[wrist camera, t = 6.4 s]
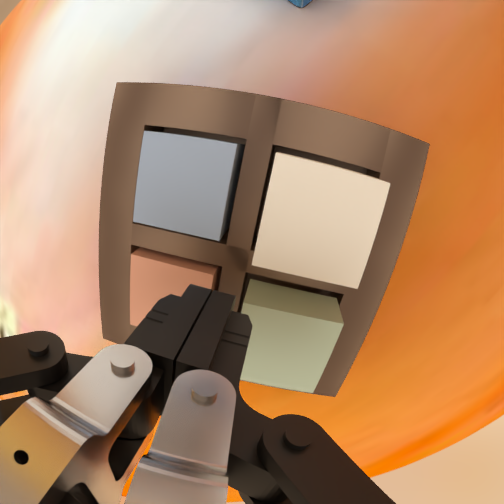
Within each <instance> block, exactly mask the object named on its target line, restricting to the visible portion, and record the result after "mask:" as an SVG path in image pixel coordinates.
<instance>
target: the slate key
mask: <svg viewBox="0 0 504 504" xmlns="http://www.w3.org/2000/svg"><path fill="white" fill-rule="evenodd" d="M244 147H245V145H244V144H238V143H233V142H227V141H221V140H215V139H209V138H203V137H196V136H189V135H182V134H174V133H166V132H155V131H144V134H143V140H142V147H141V153H140V161H139V168H138V176H137V185H136V194H135V204H134V215H133V222H137V223H142V224H146V225H151V226H155V227H159V228H164V229H168V230H173V231H177V232H181V233H186V234H190V235H195V236H199V237H203V238H208V239H212V240H217V241H220V239H221V238H222V236H223V235H224V234H225V232H226V231H227V229H228V228H229V224H230V219H231V214H232V208H233V203H234V198H235V193H236V187H237V182H238V177H239V172H240V167H241V162H242V157H243V152H244Z"/></svg>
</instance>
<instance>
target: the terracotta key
mask: <svg viewBox="0 0 504 504" xmlns="http://www.w3.org/2000/svg"><path fill="white" fill-rule="evenodd" d="M221 269H222V267H221V266H217V265H213V264H209V263H205V262H200V261H196V260H192V259H188V258H184V257H180V256H176V255H172V254H168V253H164V252H160V251H156V250H152V249H148V248H144V247H140V248H138V249H137V250H136V251H134V252H133V253H132V254H131V265H130V324H131V325H134V326H138V325H139V324H140V322H141V321H142V320H143V319H144V318H145V316H146V315H147V314H148V312H149V311H151V309H152V307H153V306H154V305H155V304H156V303H157V301H158V300H159V299H161V298H164V297H166V296H168V295H170V294H173V295H176V296H180V297H181V296H182V294H183V293H184V291H185V290H186V289H187V287H188V286H189V285H190V284H193V285H197V286H201V287H204V288H208V289H212V290H213V291H214V290H216V291H218V286H219V280H220V274H221Z"/></svg>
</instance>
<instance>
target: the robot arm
mask: <svg viewBox="0 0 504 504" xmlns="http://www.w3.org/2000/svg"><path fill="white" fill-rule="evenodd" d="M235 300H236V296H235V295H231V294H227V293H223V292H220V291H216V290H214V291H213V290H212V289H208V288H204V287H201V286H197V285H193V284H190V285H189V286H188V287H187V289H186V290H185V291H184V293H183V294H182V296H181V297H180V296H176V295H173V294H170V295H168V296H166V297H164V298H161V299H159V300H158V301H157V303H156V304H155V305H154V306H153V307H152V309H151V311H149V312H148V314H147V315H146V316H145V318H144V319H143V320H142V321H141V322H140V324H139V325H138V326H137V327H136V329H135V330H134V331H133V332H132V334H131V335H130V336H129V337H128V339H127V340H126V341H125V343H124V344H116V345H111V346H108V347H105V348H104V349H102V350H101V351H100V352H98V353H97V354H96V355H95V356H94V357H89V356H82V355H76V354H71V353H66V351H65V346H64V343H63V341H62V340H61V338H60V337H58V336H57V335H55V334H53V333H51V332H47V331H35V332H29V333H24V334H19V335H14V336H9V337H4V338H0V395H4V394H9V393H13V392H18V391H23V390H27V391H28V393H29V395H25V396H20V397H16V398H11V399H6V400H1V401H0V504H119V503H120V500H121V496H122V490H123V487H124V485H125V483H126V481H127V479H128V478H129V476H130V474H131V472H132V471H133V469H134V467H135V466H136V464H137V462H138V460H139V459H140V457H141V455H142V454H143V452H144V450H145V449H146V447H147V445H148V443H149V442H150V440H151V438H152V436H153V432H154V431H153V428H154V426H155V424H156V422H157V420H158V418H159V416H160V415H161V419H160V422H159V425H158V428H157V431H156V433H155V436H154V439H153V442H152V445H151V448H150V450H149V452H148V454H147V455H143V456H142V458H141V459H140V461H139V463H138V466H137V468H136V471H135V474H134V476H133V479H132V482H131V485H130V488H129V491H128V494H127V497H126V500H125V503H124V504H226V499H227V491H228V485H229V486H230V487H232V488H234V489H236V490H238V491H239V494H240V496H241V498H242V499H243V501H244V502H245V504H396V503H395V502H393V500H392V499H390V498H389V497H388V496H387V495H386V494H385V493H384V492H383V491H382V490H381V489H380V488H379V487H378V486H377V485H376V484H375V483H374V482H373V481H372V480H371V479H370V478H369V477H368V476H367V475H366V474H365V473H364V472H363V471H362V470H361V469H360V468H359V467H358V466H357V465H356V464H355V463H354V462H353V461H352V459H351V458H350V457H349V456H348V455H347V454H346V453H345V452H344V451H343V450H342V449H341V448H340V447H339V446H338V445H337V444H336V443H335V442H334V440H333V439H332V438H331V437H330V436H329V435H328V434H327V433H326V432H325V431H324V430H323V428H322V427H321V426H320V425H318V424H317V423H316V422H314V421H313V420H311V419H309V418H307V417H304V416H300V415H294V414H287V415H281V416H278V417H276V418H274V419H270V418H268V417H266V416H264V415H262V414H260V413H258V412H257V411H255V410H253V409H252V408H251V407H249V406H248V405H247V404H246V403H245V401H244V400H243V399H242V397H241V395H240V391H239V382H240V377H241V373H242V369H243V365H244V361H245V357H246V352H247V348H248V344H249V340H250V335H251V331H252V327H253V325H252V323H251V321H250V318H249V316H248V315H246V314H242V313H239V312H235V311H233V310H234V305H235Z"/></svg>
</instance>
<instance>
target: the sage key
mask: <svg viewBox="0 0 504 504" xmlns="http://www.w3.org/2000/svg"><path fill="white" fill-rule="evenodd" d="M241 313H242V314H246V315H248V316H249V318H250V321H251V323H252V325H253V327H252V331H251V335H250V340H249V344H248V348H247V352H246V357H245V361H244V365H243V369H242V373H241V377H240V380H245V381H249V382H254V383H258V384H263V385H268V386H273V387H279V388H284V389H290V390H296V391H302V392H308V393H313V392H314V390H315V388H316V386H317V384H318V382H319V379H320V377H321V375H322V373H323V371H324V369H325V367H326V364H327V362H328V360H329V358H330V355H331V353H332V351H333V349H334V346H335V344H336V342H337V339H338V337H339V335H340V332H341V330H342V327H343V325H344V322H343V319H342V315H341V311H340V308H339V304H338V301H337V298H334V297H330V296H325V295H320V294H316V293H311V292H306V291H302V290H297V289H293V288H288V287H284V286H279V285H275V284H271V283H266V282H262V281H258V280H253V279H250V281H249V285H248V288H247V292H246V295H245V298H244V302H243V306H242V311H241Z"/></svg>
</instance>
